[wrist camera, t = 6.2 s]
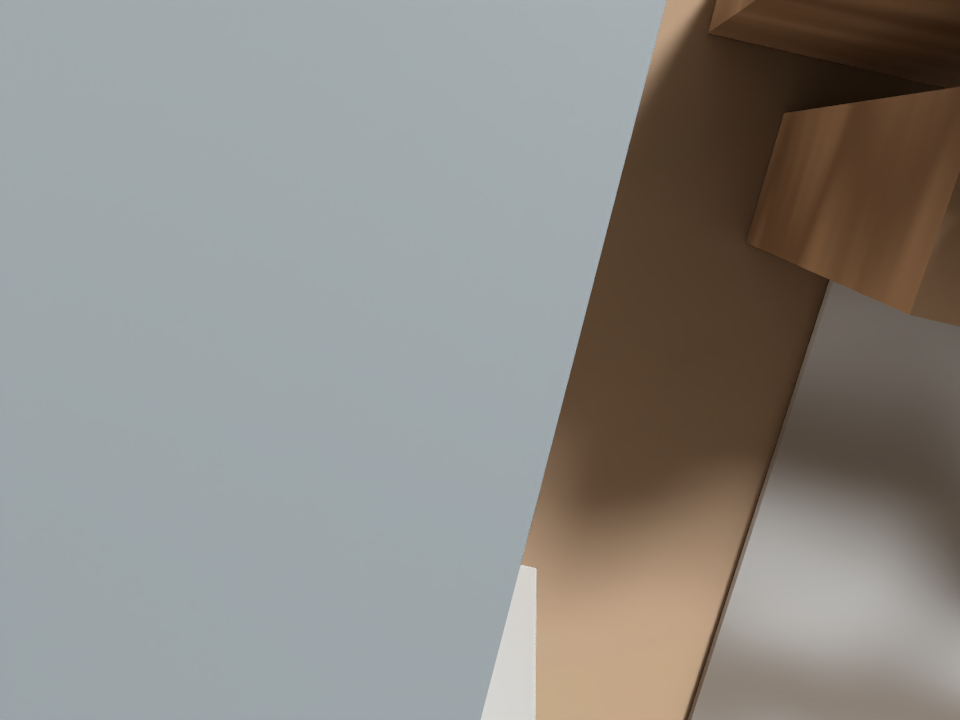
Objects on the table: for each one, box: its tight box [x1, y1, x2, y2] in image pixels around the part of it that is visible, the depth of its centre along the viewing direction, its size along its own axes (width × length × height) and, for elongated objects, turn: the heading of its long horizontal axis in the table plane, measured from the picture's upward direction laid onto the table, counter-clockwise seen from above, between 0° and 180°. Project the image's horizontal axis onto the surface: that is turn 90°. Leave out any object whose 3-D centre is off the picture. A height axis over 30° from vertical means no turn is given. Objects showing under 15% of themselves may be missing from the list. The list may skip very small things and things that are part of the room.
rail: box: [0, 0, 666, 720], centre depth 9 cm, size 17×4×6 cm, turn 167°
